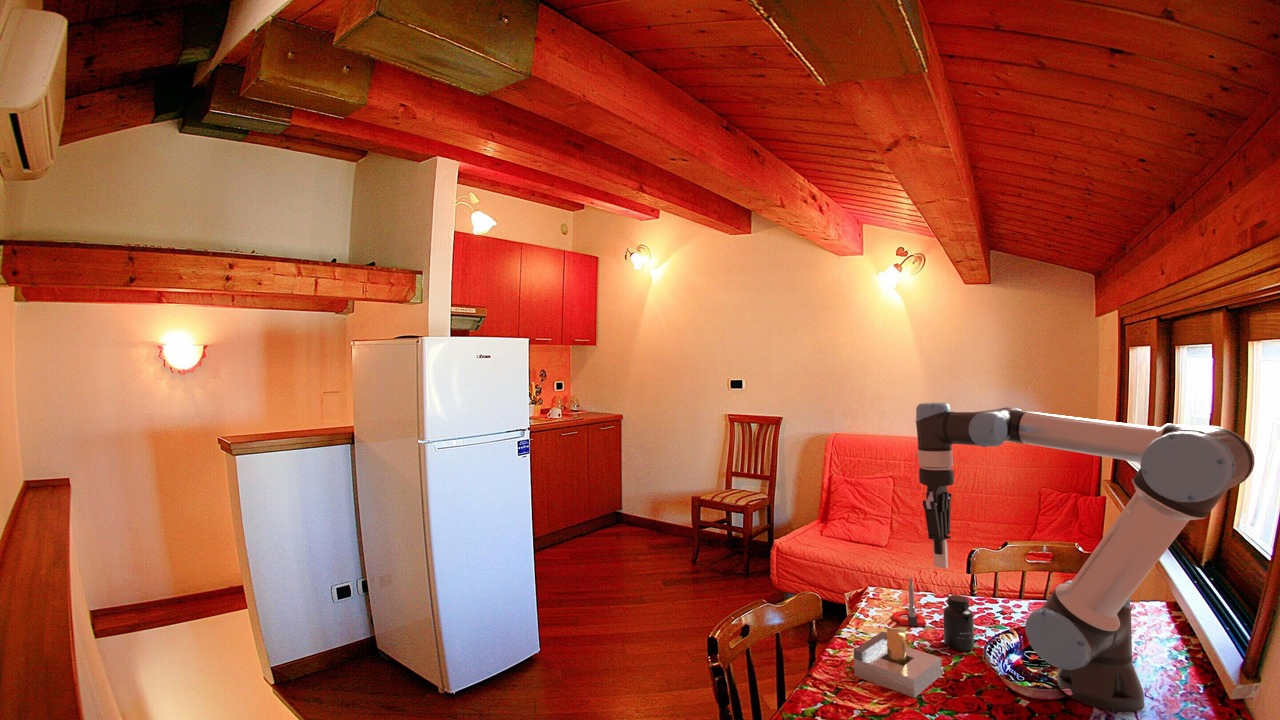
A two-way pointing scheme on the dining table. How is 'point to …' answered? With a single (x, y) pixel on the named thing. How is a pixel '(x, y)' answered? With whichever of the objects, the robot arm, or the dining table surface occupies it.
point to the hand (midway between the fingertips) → (941, 566)
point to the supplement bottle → (958, 624)
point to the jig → (895, 667)
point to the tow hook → (910, 612)
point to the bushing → (896, 646)
